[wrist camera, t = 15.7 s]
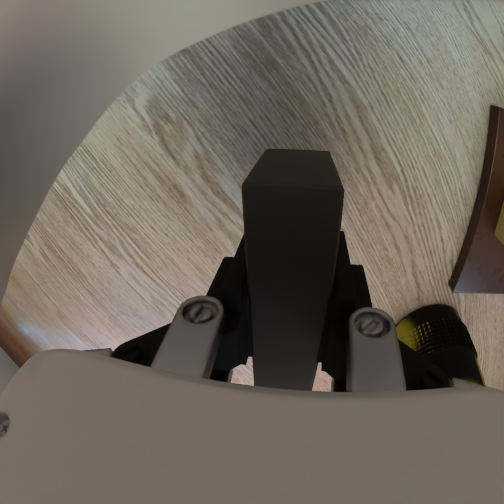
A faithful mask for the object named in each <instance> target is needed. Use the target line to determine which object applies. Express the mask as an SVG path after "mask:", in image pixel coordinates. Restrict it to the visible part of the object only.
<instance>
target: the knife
mask: <svg viewBox="0 0 504 504" xmlns="http://www.w3.org/2000/svg"><path fill="white" fill-rule="evenodd" d="M343 199H344V188H343V185H342V182H341V180H340V177H339V175H338V172H337V169H336V167H335V164H334V162H333V159H332V157H331V154H330V152H329V151H318V150H295V149H266V150H265V152H264V153H263V155H262V156H261V157H260V159H259V160H258V162H257V163H256V165H255V166H254V167H253V169H252V170H251V172H250V173H249V175H248V176H247V178H246V179H245V180H244V182H243V183H242V202H243V219H244V235H245V252H246V268H247V284H248V293H249V304H250V320H251V336H252V352H253V357H252V359H253V374H254V386H258V387H267V388H277V389H289V390H302V391H312V387H313V383H314V379H315V375H316V370H317V366H318V362H317V358H318V353H319V348H320V343H321V338H322V333H323V328H324V322H325V317H326V311H327V305H328V300H329V299H330V298H331V294H332V288H333V281H334V275H335V268H336V261H337V253H338V246H339V237H340V229H341V220H342V210H343Z"/></svg>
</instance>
